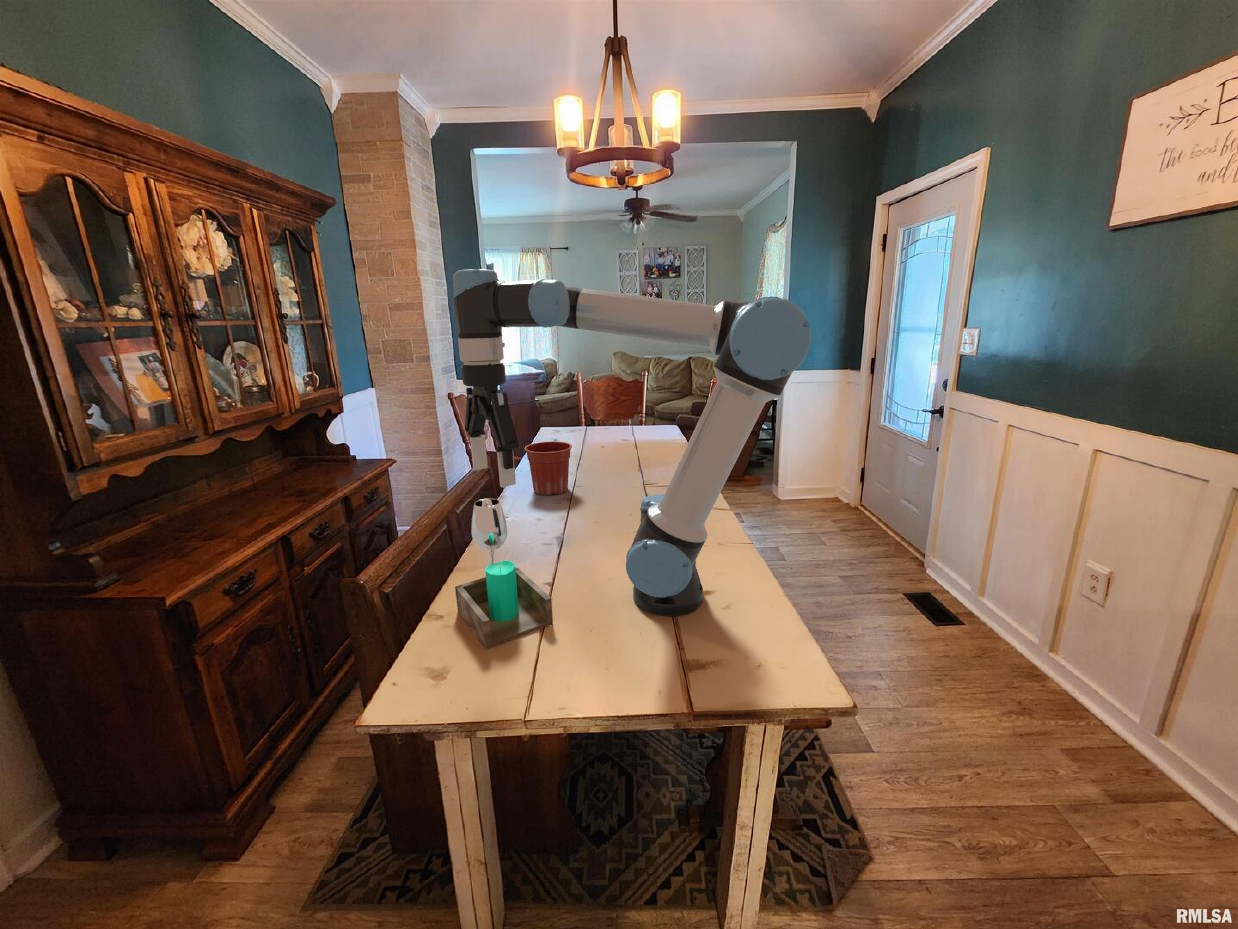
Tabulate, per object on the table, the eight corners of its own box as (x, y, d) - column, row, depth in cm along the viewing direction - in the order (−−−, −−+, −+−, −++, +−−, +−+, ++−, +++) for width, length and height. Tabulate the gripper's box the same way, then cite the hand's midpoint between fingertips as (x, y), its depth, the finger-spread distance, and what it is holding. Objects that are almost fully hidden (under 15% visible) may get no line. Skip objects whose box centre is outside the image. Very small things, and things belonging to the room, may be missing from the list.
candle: (520, 605, 109) (516, 553, 105) (516, 621, 103) (512, 566, 99) (492, 606, 108) (487, 554, 105) (486, 622, 103) (481, 567, 99)
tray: (552, 623, 103) (551, 598, 102) (485, 649, 95) (483, 621, 94) (519, 591, 116) (517, 567, 114) (457, 611, 108) (454, 586, 107)
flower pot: (524, 485, 189) (521, 443, 185) (568, 481, 194) (566, 439, 189) (531, 500, 174) (528, 454, 169) (578, 494, 179) (576, 449, 174)
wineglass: (477, 594, 114) (468, 510, 109) (476, 578, 122) (468, 498, 116) (512, 589, 116) (506, 506, 111) (510, 573, 124) (504, 495, 118)
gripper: (533, 365, 84) (541, 488, 89) (478, 357, 103) (488, 459, 109) (488, 368, 80) (500, 498, 85) (440, 360, 99) (452, 466, 105)
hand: (493, 476), depth 97 cm, fingers open, 13 cm apart
